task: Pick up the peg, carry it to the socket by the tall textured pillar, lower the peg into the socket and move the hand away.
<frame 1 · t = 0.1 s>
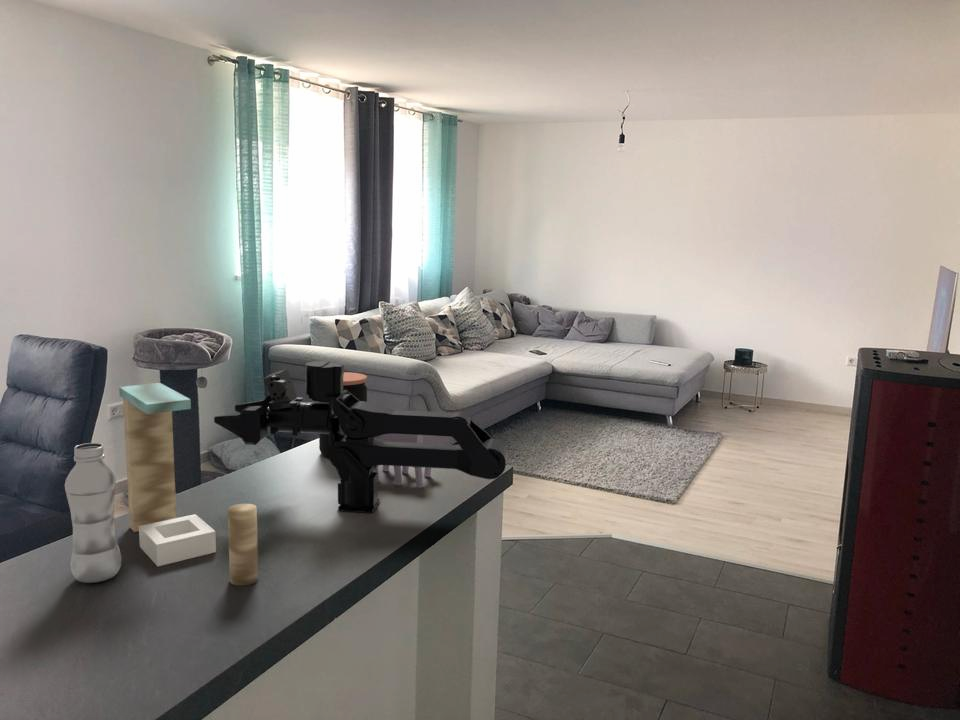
hand: (225, 413, 145), 17 cm above the kitchen counter, tool horizontal, fingers open, 9 cm apart
socket: (177, 549, 124), on the kitchen counter
coffee jar: (343, 454, 178), on the kitchen counter
peg: (244, 579, 115), on the kitchen counter
plastic bottle: (97, 579, 114), on the kitchen counter
toy sheep: (385, 477, 163), on the kitchen counter
tall textured pillar: (153, 525, 134), on the kitchen counter
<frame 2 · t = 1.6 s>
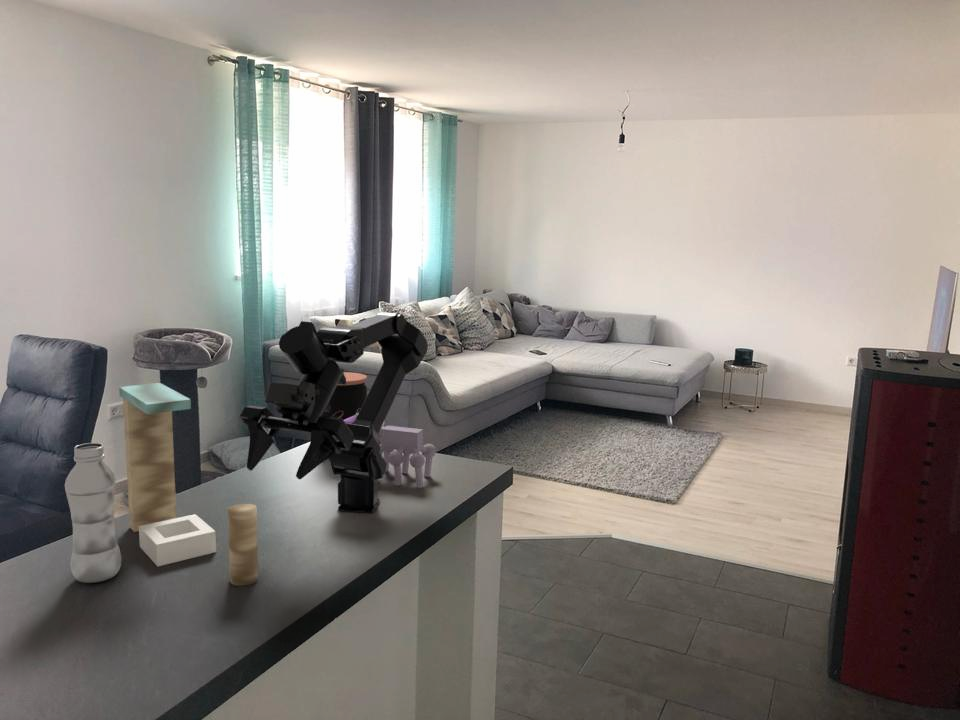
hand: (273, 473, 120), 14 cm above the kitchen counter, tool tilted 45°, fingers open, 9 cm apart
nothing on the kitchen counter moved.
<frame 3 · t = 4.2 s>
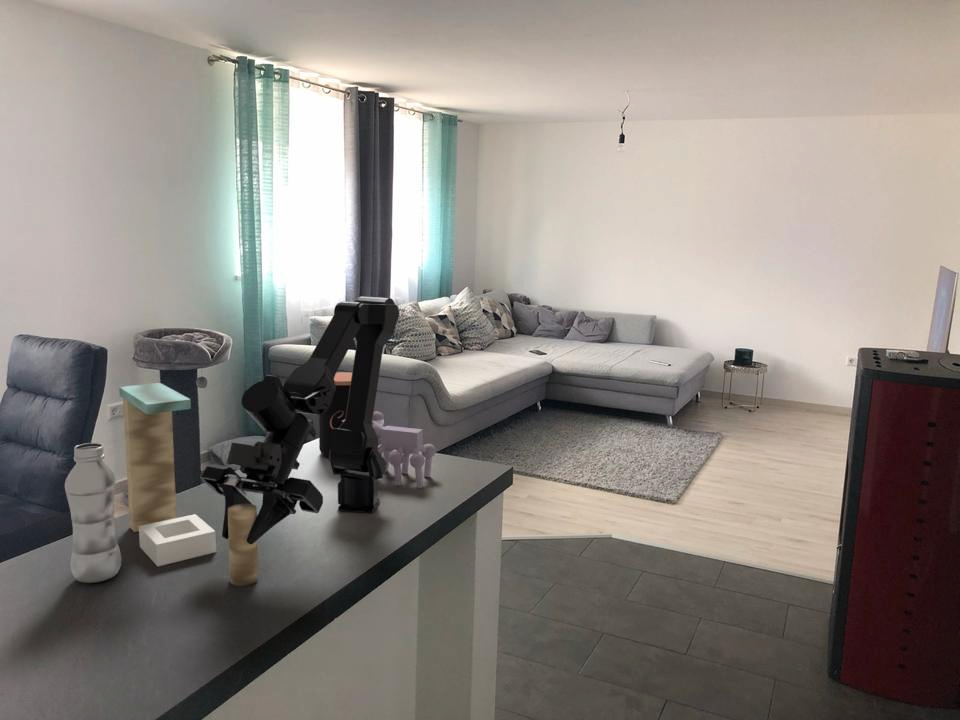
hand: (236, 540, 112), 7 cm above the kitchen counter, tool tilted 45°, fingers closed on peg, 4 cm apart
peg: (244, 579, 115), on the kitchen counter, touching gripper
everything else where it was.
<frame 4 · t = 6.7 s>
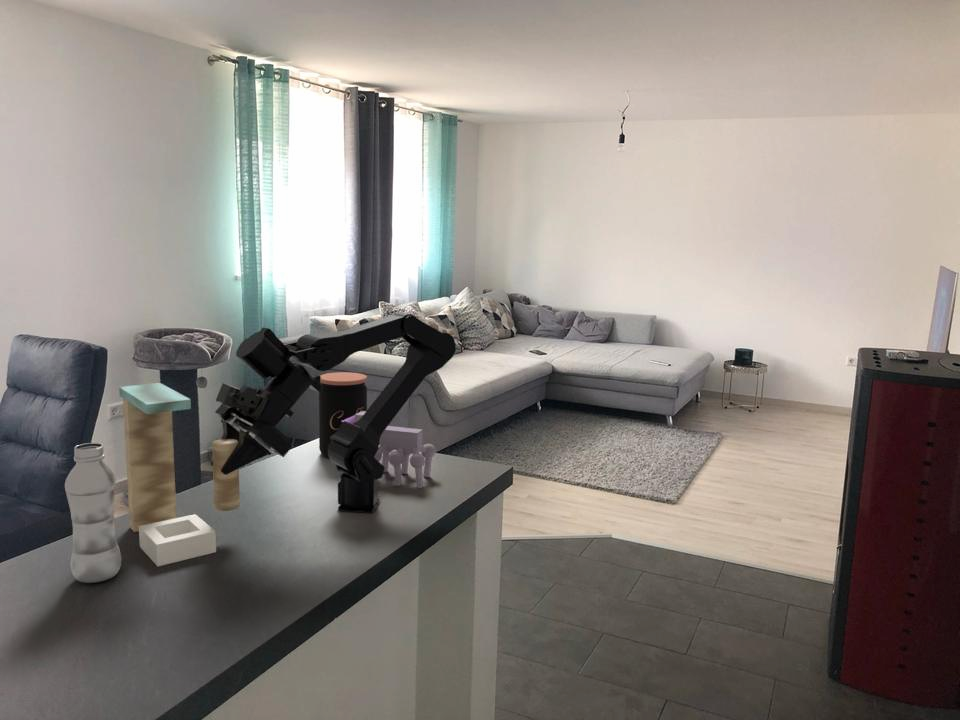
hand: (217, 469, 127), 12 cm above the kitchen counter, tool tilted 45°, fingers closed on peg, 4 cm apart
peg: (227, 506, 129), point 5 cm above the kitchen counter, touching gripper
everything else where it was.
when the fingers open (8 cm above the kitchen counter, at t = 9.3 s): peg stays where it is, resting in socket.
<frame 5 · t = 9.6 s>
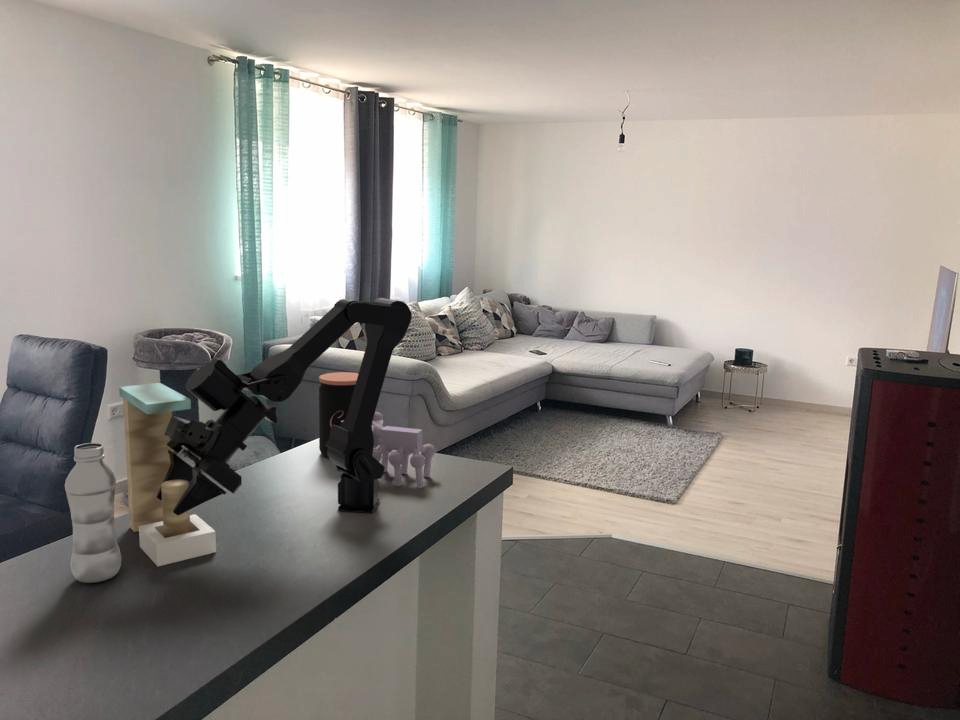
hand: (166, 506, 122), 8 cm above the kitchen counter, tool tilted 45°, fingers open, 8 cm apart
peg: (177, 549, 124), resting in socket
everything else where it was.
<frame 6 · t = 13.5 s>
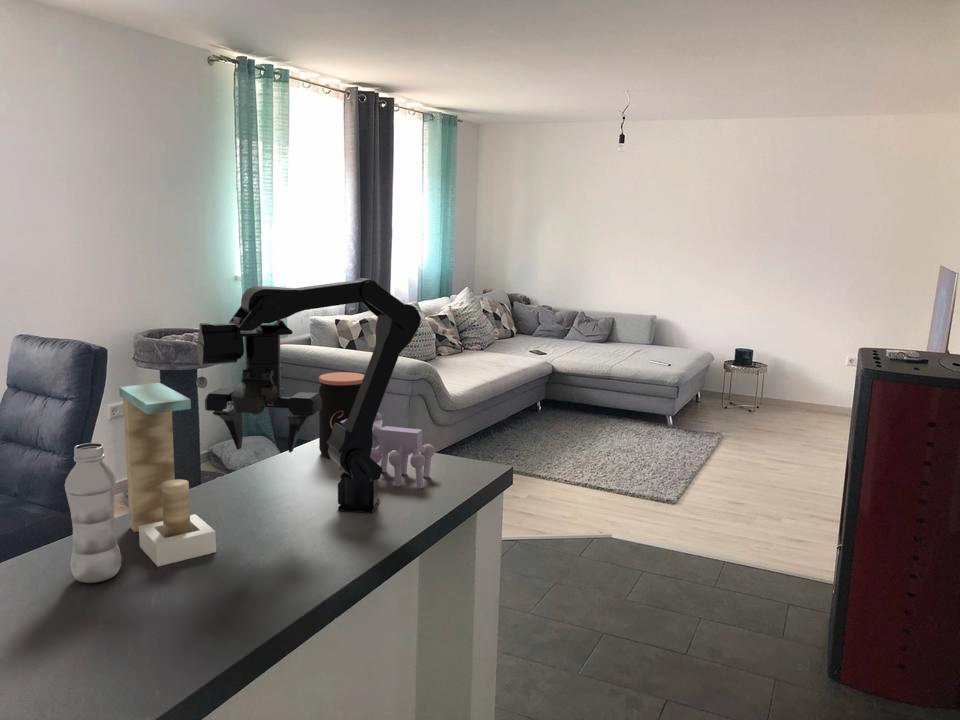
hand: (264, 450, 134), 13 cm above the kitchen counter, tool pointing down, fingers open, 9 cm apart
nothing on the kitchen counter moved.
at the end: peg 0.0 cm off-centre on the socket, point 0.0 cm above the socket's base; peg tilted 0°; the gripper is holding nothing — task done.
